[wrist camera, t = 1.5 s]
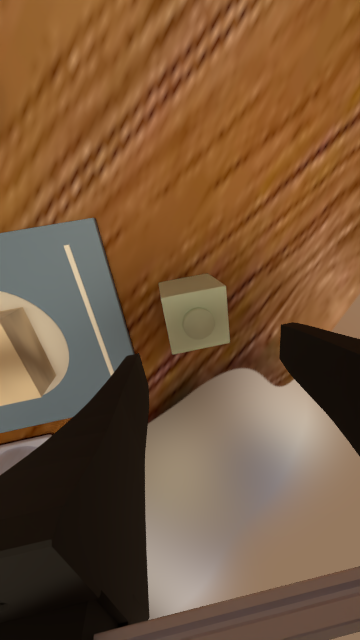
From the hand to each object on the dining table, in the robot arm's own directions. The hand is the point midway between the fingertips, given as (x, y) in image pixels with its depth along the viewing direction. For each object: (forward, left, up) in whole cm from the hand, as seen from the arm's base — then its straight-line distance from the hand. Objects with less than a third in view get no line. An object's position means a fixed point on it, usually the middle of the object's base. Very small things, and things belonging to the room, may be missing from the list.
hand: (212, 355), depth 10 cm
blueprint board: (-1, +17, -10) cm, 19 cm away
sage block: (0, 0, -10) cm, 10 cm away
